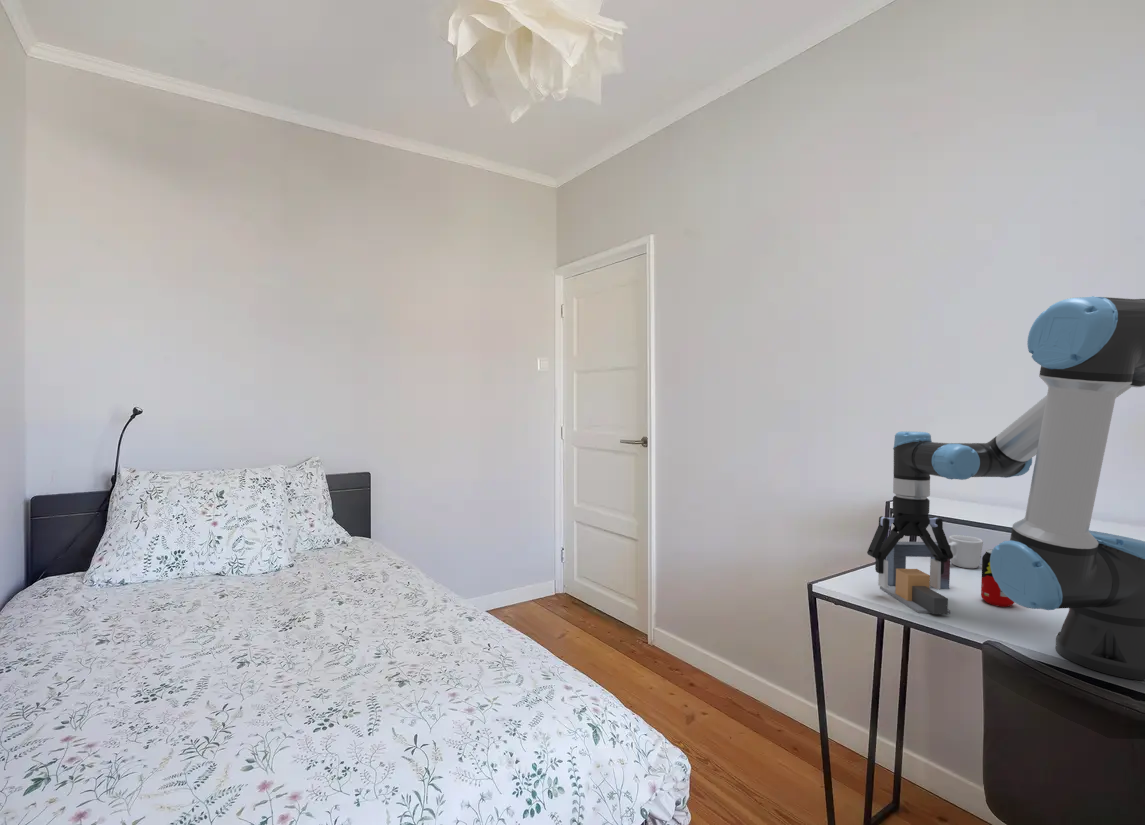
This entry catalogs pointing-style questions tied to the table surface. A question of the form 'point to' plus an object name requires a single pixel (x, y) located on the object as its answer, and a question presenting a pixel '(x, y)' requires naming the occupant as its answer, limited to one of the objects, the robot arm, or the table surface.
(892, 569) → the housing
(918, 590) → the plug
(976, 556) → the cup
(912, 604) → the mat
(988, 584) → the beverage can
